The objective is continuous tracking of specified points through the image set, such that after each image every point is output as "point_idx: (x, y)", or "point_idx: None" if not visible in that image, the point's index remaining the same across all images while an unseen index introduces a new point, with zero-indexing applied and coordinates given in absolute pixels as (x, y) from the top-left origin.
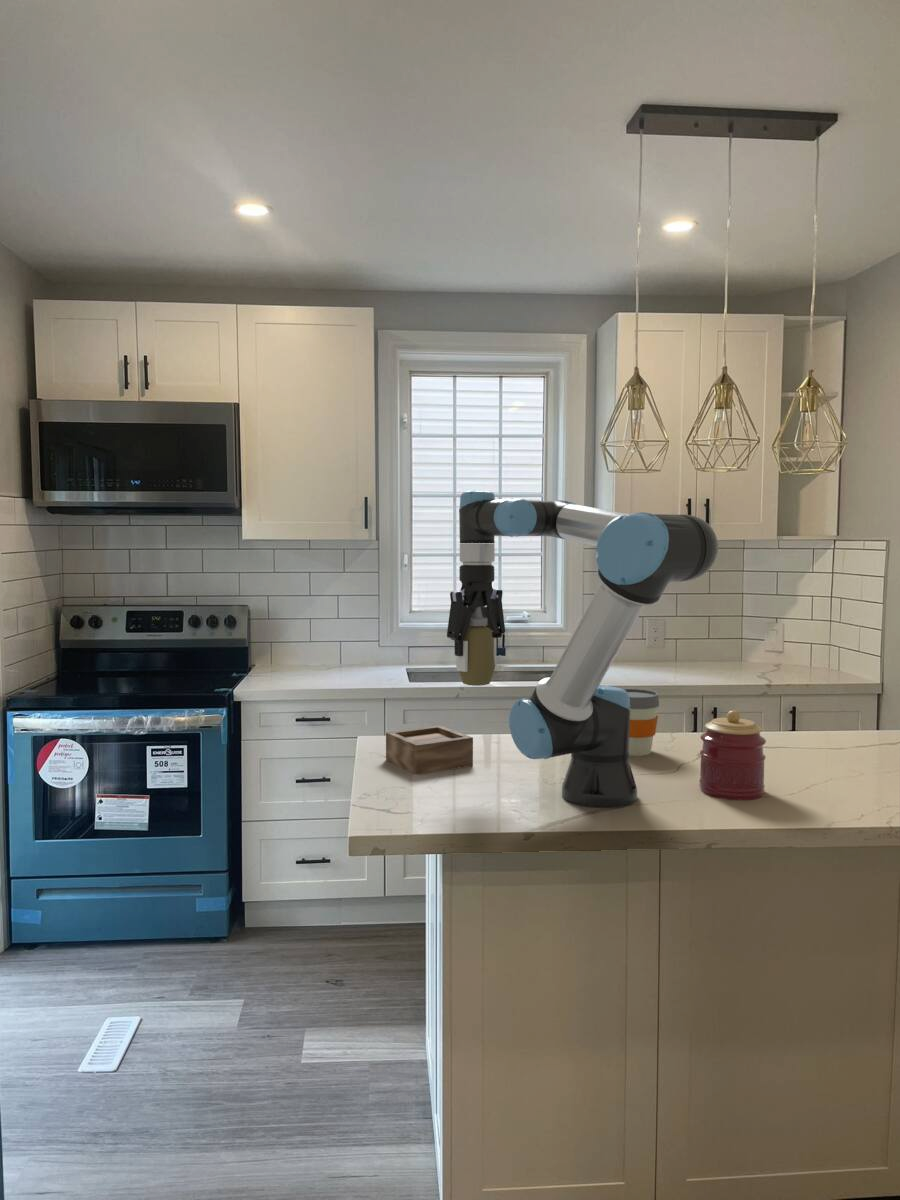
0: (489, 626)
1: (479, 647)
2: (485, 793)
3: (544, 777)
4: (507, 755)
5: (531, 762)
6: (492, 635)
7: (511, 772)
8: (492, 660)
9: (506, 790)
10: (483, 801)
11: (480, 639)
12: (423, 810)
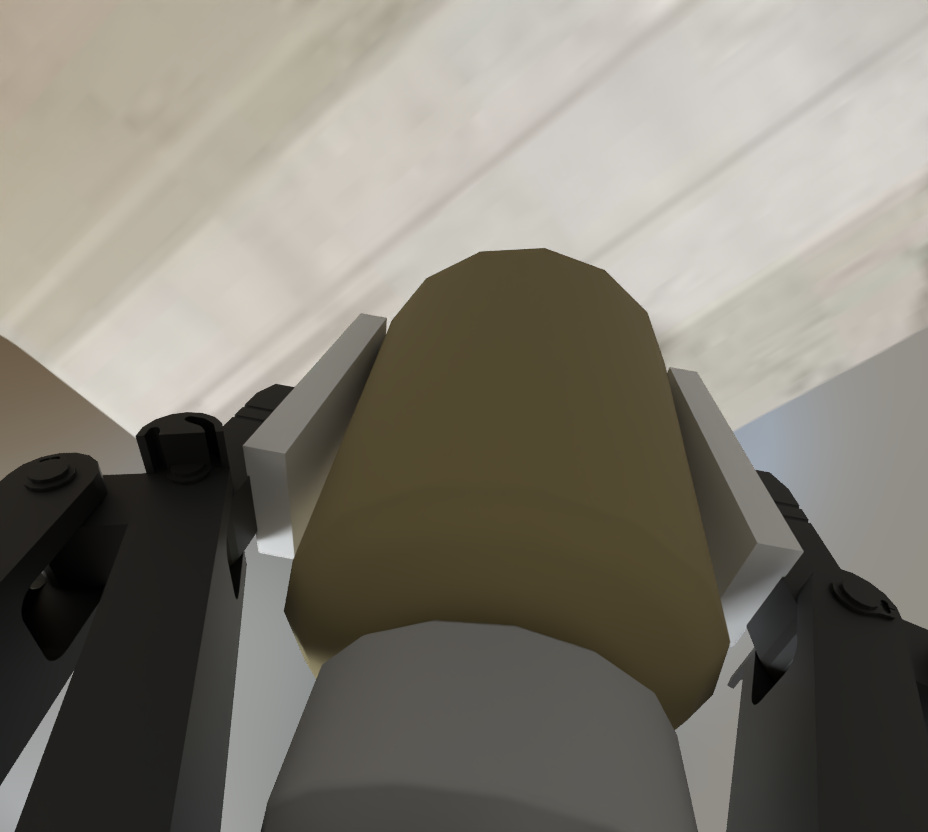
0: (225, 629)
1: (649, 400)
2: (627, 111)
3: (347, 63)
4: (256, 317)
5: (253, 216)
6: (239, 514)
7: (379, 197)
8: (486, 278)
9: (557, 72)
10: (716, 50)
11: (649, 455)
12: (898, 155)
